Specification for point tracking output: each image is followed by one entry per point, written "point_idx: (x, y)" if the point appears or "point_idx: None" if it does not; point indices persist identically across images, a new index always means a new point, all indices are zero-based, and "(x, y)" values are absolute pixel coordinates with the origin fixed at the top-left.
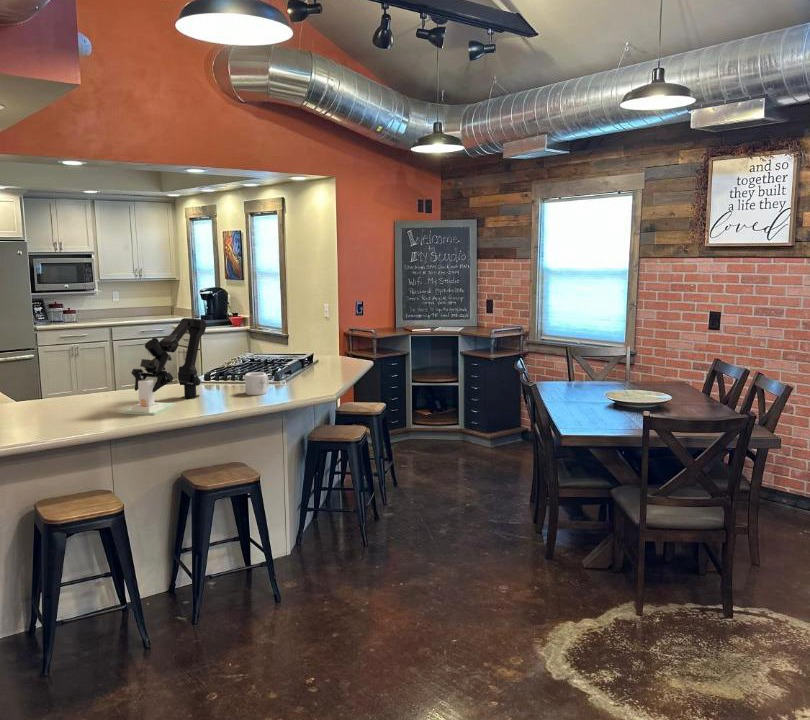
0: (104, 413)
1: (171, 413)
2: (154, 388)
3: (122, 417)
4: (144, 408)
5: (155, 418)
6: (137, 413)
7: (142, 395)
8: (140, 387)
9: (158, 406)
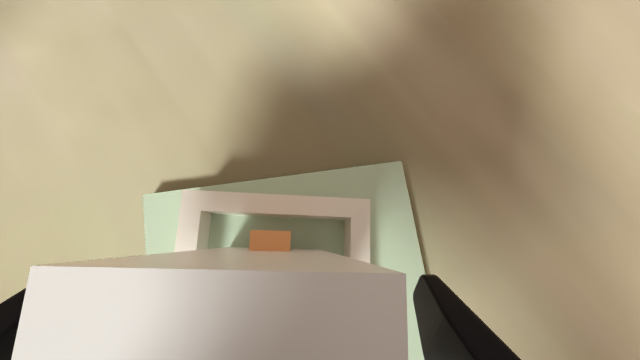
0: (508, 144)
1: None
2: (5, 301)
3: (328, 84)
4: (232, 193)
5: (92, 114)
6: (286, 178)
7: (282, 252)
8: (314, 259)
9: None
